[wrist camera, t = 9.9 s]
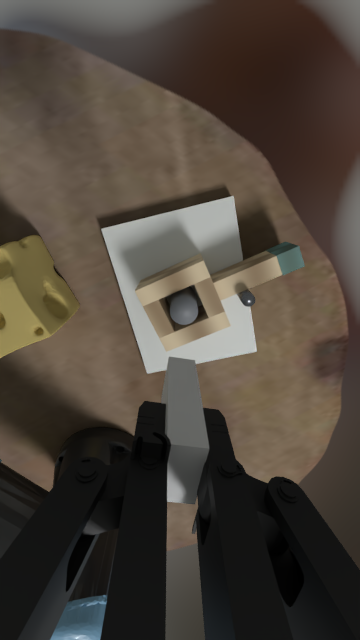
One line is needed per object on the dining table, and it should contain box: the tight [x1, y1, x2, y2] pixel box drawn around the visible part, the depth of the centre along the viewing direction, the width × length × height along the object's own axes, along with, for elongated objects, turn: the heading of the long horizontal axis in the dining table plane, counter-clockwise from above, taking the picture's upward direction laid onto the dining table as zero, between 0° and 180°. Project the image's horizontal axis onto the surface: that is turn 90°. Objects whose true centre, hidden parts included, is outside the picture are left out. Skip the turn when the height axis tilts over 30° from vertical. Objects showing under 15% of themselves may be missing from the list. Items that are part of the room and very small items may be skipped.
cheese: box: [0, 235, 80, 358], centre depth 33 cm, size 10×11×10 cm
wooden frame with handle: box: [135, 242, 304, 352], centre depth 33 cm, size 18×8×5 cm, turn 114°
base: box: [101, 196, 257, 374], centre depth 34 cm, size 20×16×8 cm
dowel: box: [237, 289, 255, 307], centre depth 33 cm, size 1×1×6 cm
